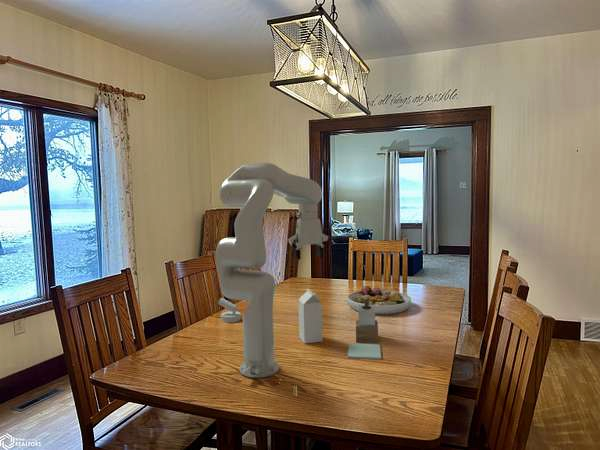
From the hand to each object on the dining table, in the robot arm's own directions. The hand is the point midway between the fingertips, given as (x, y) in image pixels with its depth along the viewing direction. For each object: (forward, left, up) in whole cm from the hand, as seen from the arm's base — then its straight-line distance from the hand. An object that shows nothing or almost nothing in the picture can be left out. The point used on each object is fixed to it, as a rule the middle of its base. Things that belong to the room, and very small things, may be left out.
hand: (309, 258), depth 169 cm
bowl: (+34, -29, -30) cm, 54 cm away
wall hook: (+9, +37, -29) cm, 48 cm away
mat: (-23, -22, -29) cm, 43 cm away
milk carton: (-13, -2, -29) cm, 32 cm away
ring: (-10, -23, -23) cm, 34 cm away
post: (-10, -23, -29) cm, 38 cm away
